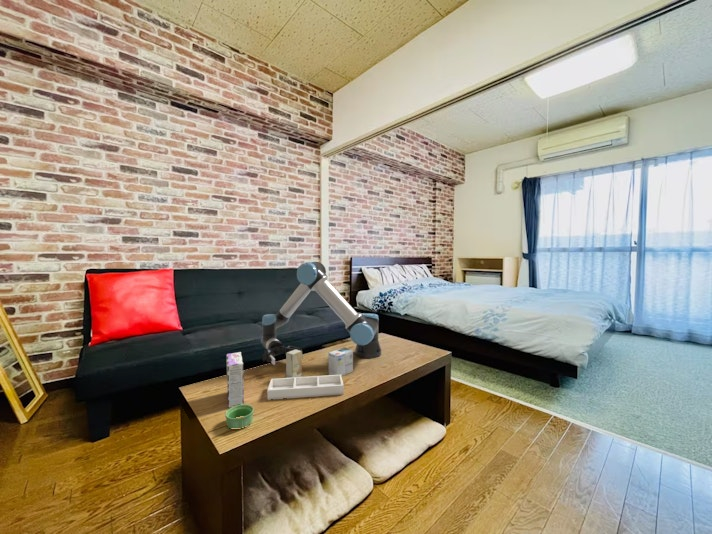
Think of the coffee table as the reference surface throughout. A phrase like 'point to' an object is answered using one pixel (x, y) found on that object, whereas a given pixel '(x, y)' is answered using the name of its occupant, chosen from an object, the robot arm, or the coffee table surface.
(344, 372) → the light bulb box
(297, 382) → the compartment tray
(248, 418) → the ramekin
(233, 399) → the candy box
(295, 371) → the skincare box
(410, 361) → the coffee table surface
